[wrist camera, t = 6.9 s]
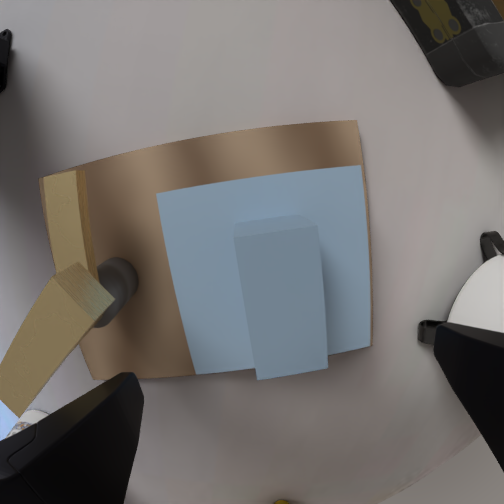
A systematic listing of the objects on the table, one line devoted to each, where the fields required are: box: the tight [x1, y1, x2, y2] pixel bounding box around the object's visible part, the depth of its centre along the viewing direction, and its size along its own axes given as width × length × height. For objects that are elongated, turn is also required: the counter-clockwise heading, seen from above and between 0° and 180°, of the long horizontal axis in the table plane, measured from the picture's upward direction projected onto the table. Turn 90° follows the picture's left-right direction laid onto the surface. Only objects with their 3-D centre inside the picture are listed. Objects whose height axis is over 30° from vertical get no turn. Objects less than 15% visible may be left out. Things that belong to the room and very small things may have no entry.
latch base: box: [38, 120, 373, 380], centre depth 18 cm, size 22×16×6 cm
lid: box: [156, 165, 370, 380], centre depth 14 cm, size 10×10×6 cm
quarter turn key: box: [0, 170, 115, 418], centre depth 12 cm, size 10×7×6 cm
